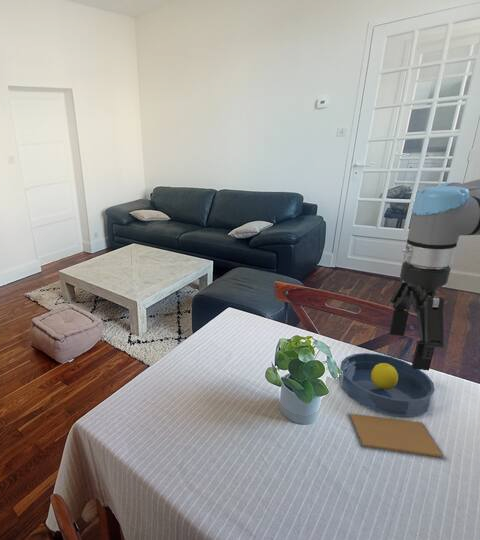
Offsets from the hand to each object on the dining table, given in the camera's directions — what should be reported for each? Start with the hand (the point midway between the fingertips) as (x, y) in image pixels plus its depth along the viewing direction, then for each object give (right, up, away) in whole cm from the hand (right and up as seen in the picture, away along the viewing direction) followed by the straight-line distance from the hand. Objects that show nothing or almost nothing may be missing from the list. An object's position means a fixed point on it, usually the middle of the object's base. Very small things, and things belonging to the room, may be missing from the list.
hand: (407, 350), depth 77 cm
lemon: (+4, -13, +12) cm, 18 cm away
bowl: (+4, -14, +12) cm, 19 cm away
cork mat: (-4, -19, 0) cm, 20 cm away
